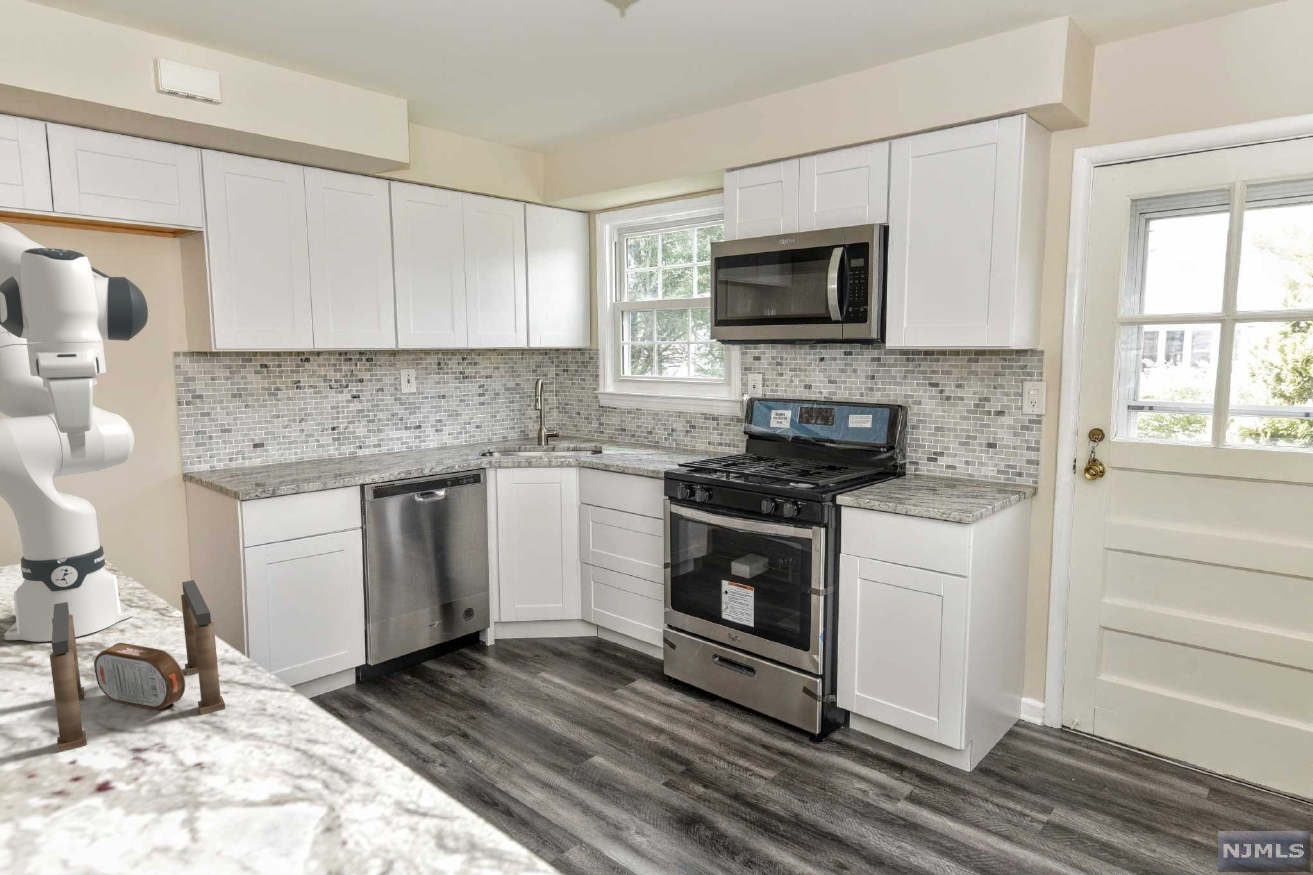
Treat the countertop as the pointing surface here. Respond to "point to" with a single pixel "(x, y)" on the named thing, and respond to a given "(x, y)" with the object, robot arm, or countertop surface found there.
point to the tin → (139, 676)
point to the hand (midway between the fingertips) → (79, 457)
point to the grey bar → (60, 629)
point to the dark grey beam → (196, 603)
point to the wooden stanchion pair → (71, 692)
